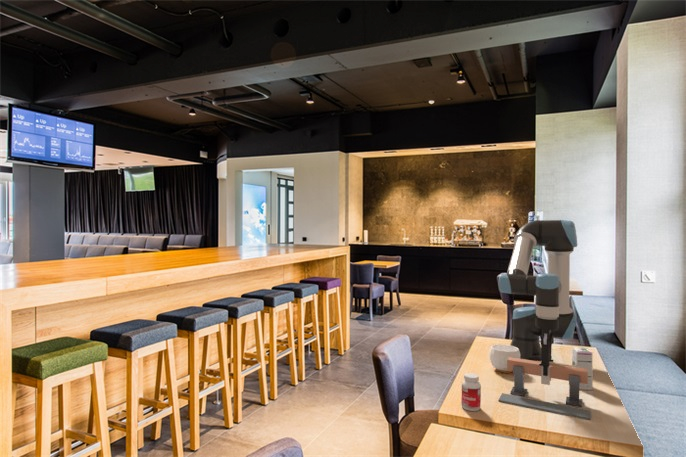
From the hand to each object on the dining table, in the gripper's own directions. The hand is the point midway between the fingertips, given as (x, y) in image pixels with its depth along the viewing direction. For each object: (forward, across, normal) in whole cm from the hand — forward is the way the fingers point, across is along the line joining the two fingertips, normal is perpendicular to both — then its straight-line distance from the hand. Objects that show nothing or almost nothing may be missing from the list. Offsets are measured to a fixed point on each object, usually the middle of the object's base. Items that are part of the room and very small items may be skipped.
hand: (546, 381), depth 155 cm
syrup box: (+6, -19, +11) cm, 23 cm away
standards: (+6, 0, 0) cm, 6 cm away
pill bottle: (+6, +23, -21) cm, 32 cm away
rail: (-2, 0, 0) cm, 2 cm away
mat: (+6, +9, 0) cm, 11 cm away
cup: (+6, -23, -18) cm, 30 cm away
